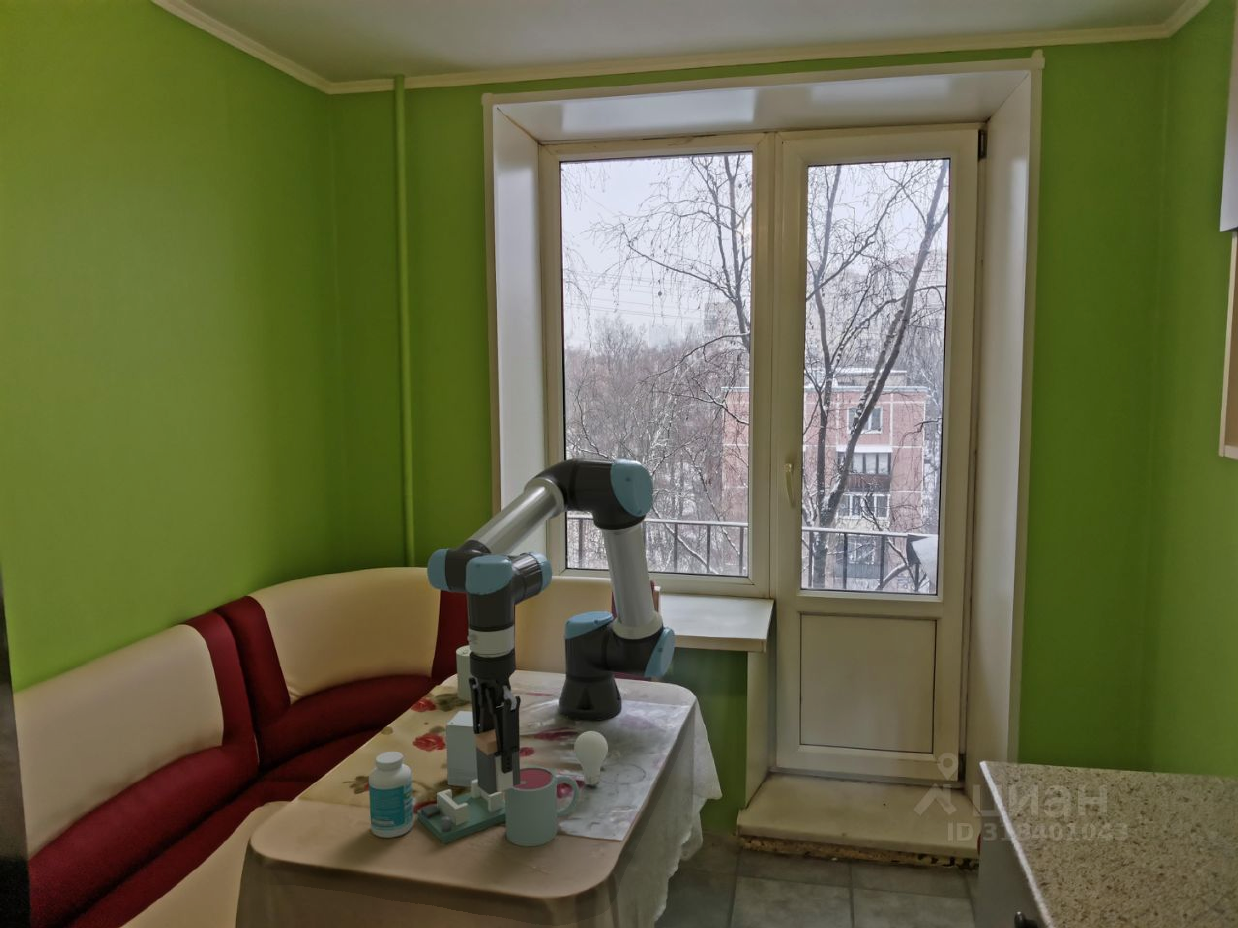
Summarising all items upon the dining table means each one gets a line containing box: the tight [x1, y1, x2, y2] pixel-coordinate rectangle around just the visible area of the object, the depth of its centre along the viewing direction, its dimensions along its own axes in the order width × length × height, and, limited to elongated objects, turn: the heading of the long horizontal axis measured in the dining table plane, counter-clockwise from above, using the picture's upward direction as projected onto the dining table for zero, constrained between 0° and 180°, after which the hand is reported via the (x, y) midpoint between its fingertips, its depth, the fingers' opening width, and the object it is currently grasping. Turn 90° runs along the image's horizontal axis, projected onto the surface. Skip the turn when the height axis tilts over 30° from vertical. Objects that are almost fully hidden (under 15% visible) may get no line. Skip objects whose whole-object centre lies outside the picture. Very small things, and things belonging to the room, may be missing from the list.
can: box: [455, 644, 474, 702], centre depth 216 cm, size 9×9×12 cm
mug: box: [504, 765, 581, 847], centre depth 152 cm, size 14×9×10 cm
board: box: [416, 779, 506, 845], centre depth 157 cm, size 14×11×4 cm
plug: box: [475, 729, 521, 795], centre depth 144 cm, size 6×4×9 cm, turn 128°
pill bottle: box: [368, 751, 414, 839], centre depth 153 cm, size 8×7×14 cm
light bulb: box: [573, 730, 609, 787], centre depth 168 cm, size 7×7×11 cm
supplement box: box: [445, 710, 478, 788], centre depth 172 cm, size 7×7×13 cm
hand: (497, 782), depth 144 cm, fingers closed on plug, 4 cm apart
